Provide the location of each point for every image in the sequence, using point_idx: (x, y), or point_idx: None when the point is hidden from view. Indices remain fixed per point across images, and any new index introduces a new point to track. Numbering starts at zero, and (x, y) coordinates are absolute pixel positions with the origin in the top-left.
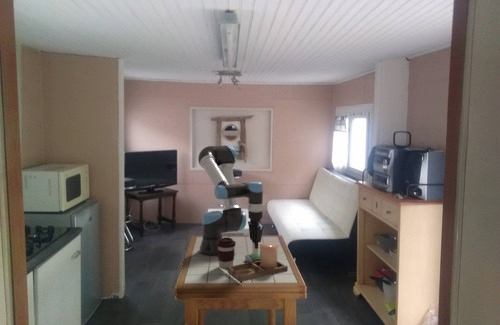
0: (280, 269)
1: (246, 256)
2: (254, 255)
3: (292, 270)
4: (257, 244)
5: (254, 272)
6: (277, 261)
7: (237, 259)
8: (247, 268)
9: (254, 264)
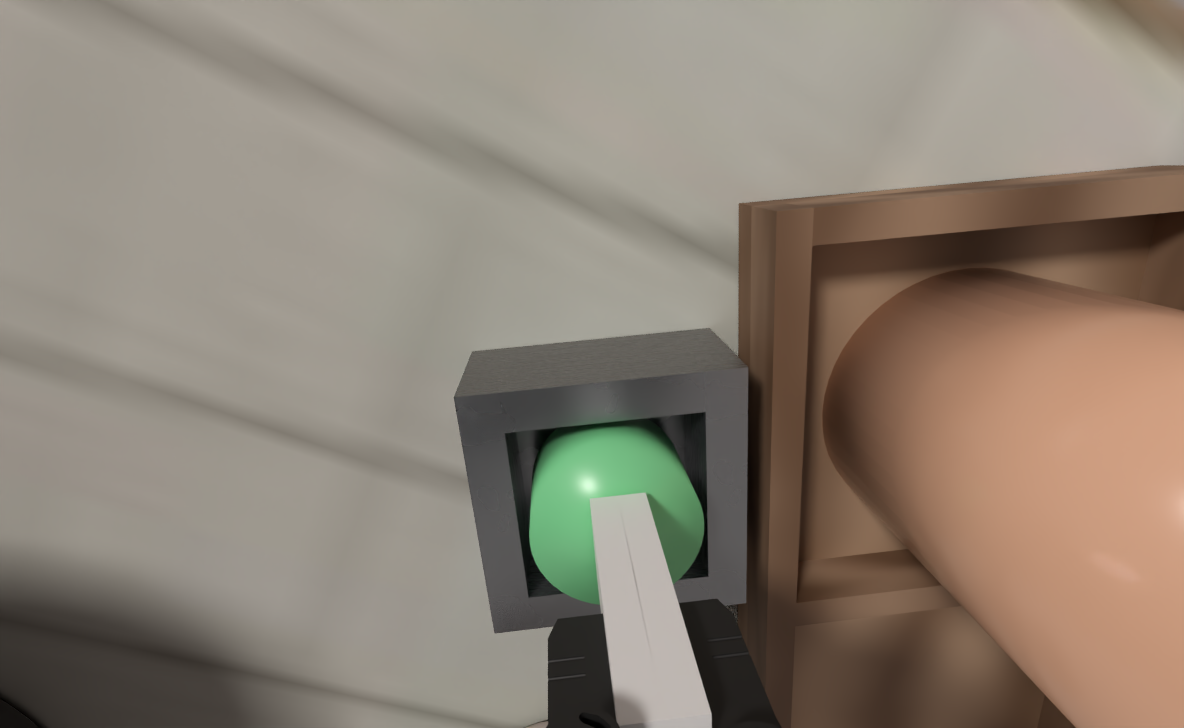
0: None
1: (540, 624)
2: (677, 570)
3: (1155, 35)
4: (761, 710)
5: (959, 611)
6: (977, 216)
7: (340, 602)
8: (798, 639)
9: (869, 604)
